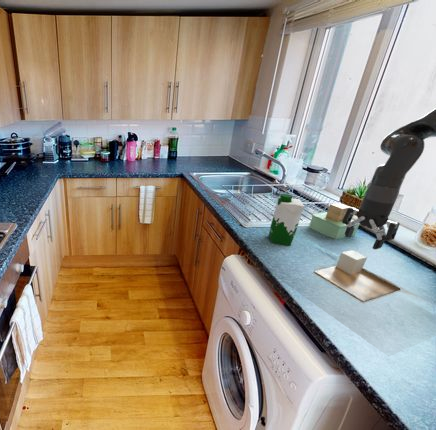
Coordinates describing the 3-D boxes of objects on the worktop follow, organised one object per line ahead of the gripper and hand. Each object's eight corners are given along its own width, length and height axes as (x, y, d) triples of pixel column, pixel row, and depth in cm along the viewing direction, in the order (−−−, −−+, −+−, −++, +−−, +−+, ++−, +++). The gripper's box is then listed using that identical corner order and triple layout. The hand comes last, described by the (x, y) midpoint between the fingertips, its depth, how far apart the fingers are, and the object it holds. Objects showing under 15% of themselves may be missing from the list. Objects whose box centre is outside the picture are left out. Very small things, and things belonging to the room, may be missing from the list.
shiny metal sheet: (348, 263, 106) (349, 262, 106) (400, 289, 92) (400, 288, 92) (313, 272, 100) (314, 271, 100) (363, 302, 87) (363, 301, 87)
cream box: (346, 263, 105) (352, 249, 102) (360, 271, 100) (367, 257, 98) (335, 266, 103) (341, 252, 100) (350, 274, 99) (356, 260, 96)
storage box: (325, 226, 133) (331, 211, 130) (354, 239, 123) (361, 222, 119) (306, 230, 129) (311, 214, 126) (333, 244, 119) (340, 226, 115)
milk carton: (266, 234, 125) (278, 191, 117) (289, 237, 123) (303, 194, 115) (269, 243, 118) (282, 198, 110) (293, 247, 115) (308, 201, 107)
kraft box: (334, 215, 126) (339, 202, 123) (346, 220, 121) (351, 207, 119) (325, 217, 124) (330, 204, 121) (337, 221, 120) (342, 208, 117)
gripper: (414, 204, 85) (392, 251, 92) (363, 189, 97) (346, 231, 104) (399, 207, 83) (377, 255, 90) (348, 192, 95) (332, 235, 102)
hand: (361, 242), depth 97 cm, fingers open, 8 cm apart
